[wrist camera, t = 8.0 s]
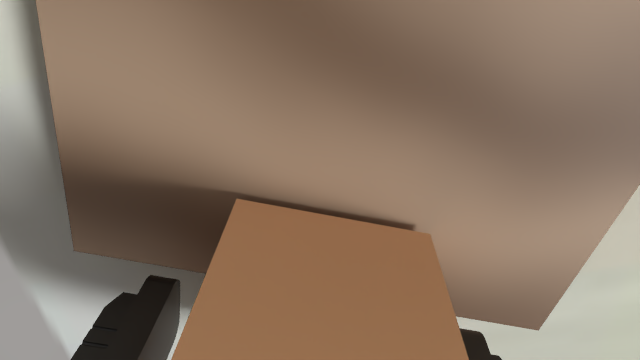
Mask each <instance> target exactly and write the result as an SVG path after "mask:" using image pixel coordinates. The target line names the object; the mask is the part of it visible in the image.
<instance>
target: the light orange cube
mask: <svg viewBox="0 0 640 360" xmlns="http://www.w3.org/2000/svg"><path fill="white" fill-rule="evenodd" d="M171 360H469V358H468V355H467V352H466V349H465V345H464V342H463V339H462V336H461V332H460V329H459V326H458V323H457V319H456V316H455V313H454V309H453V306H452V303H451V300H450V296H449V293H448V290H447V287H446V283H445V280H444V277H443V274H442V270H441V267H440V264H439V261H438V257H437V254H436V251H435V248H434V244H433V241H432V238H431V235H430V234H428V233H422V232H417V231H411V230H406V229H400V228H395V227H390V226H384V225H379V224H373V223H368V222H362V221H357V220H351V219H346V218H340V217H335V216H329V215H324V214H318V213H313V212H307V211H302V210H296V209H291V208H285V207H280V206H274V205H269V204H264V203H258V202H253V201H247V200H242V199H236V201H235V204H234V206H233V209H232V211H231V214H230V216H229V219H228V221H227V224H226V226H225V228H224V231H223V233H222V236H221V238H220V241H219V243H218V246H217V248H216V251H215V253H214V256H213V258H212V261H211V263H210V265H209V268H208V270H207V273H206V275H205V278H204V280H203V283H202V285H201V288H200V290H199V293H198V295H197V298H196V300H195V302H194V305H193V307H192V310H191V312H190V315H189V317H188V320H187V322H186V325H185V327H184V330H183V332H182V335H181V337H180V339H179V342H178V344H177V347H176V349H175V352H174V354H173V357H172V359H171Z"/></svg>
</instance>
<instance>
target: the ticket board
mask: <svg viewBox="0 0 640 360" xmlns="http://www.w3.org/2000/svg"><path fill="white" fill-rule="evenodd" d="M36 6H37V12H38V19H39V26H40V32H41V39H42V45H43V52H44V58H45V65H46V71H47V78H48V84H49V91H50V97H51V104H52V110H53V117H54V123H55V130H56V136H57V143H58V149H59V156H60V162H61V169H62V175H63V182H64V189H65V195H66V202H67V208H68V215H69V221H70V228H71V234H72V241H73V247H74V251H78V252H84V253H90V254H95V255H101V256H107V257H113V258H119V259H125V260H130V261H136V262H142V263H148V264H154V265H160V266H166V267H171V268H177V269H183V270H189V271H195V272H201V273H207V270H208V268H209V265H210V263H211V261H212V258H213V256H214V253H215V251H216V248H217V246H218V243H219V241H220V238H221V236H222V233H223V231H224V228H225V226H226V224H227V221H228V219H229V216H230V214H231V211H232V209H233V206H234V204H235V201H236V199H242V200H247V201H253V202H258V203H264V204H269V205H274V206H280V207H285V208H291V209H296V210H302V211H307V212H313V213H318V214H324V215H329V216H335V217H340V218H346V219H351V220H357V221H362V222H368V223H373V224H379V225H384V226H390V227H395V228H400V229H406V230H411V231H417V232H422V233H428V234H430V235H431V238H432V241H433V244H434V248H435V251H436V254H437V257H438V261H439V264H440V267H441V270H442V274H443V277H444V280H445V283H446V287H447V290H448V293H449V296H450V300H451V303H452V306H453V309H454V313H455V316H458V317H464V318H469V319H475V320H481V321H487V322H493V323H499V324H504V325H510V326H516V327H522V328H528V329H534V330H539V329H540V327H541V326H542V324H543V323H544V322H545V320H546V319H547V317H548V316H549V314H550V313H551V311H552V310H553V309H554V307H555V306H556V304H557V303H558V301H559V300H560V299H561V297H562V296H563V294H564V293H565V291H566V290H567V288H568V287H569V286H570V284H571V283H572V281H573V280H574V278H575V277H576V275H577V274H578V273H579V271H580V270H581V268H582V267H583V265H584V264H585V263H586V261H587V260H588V258H589V257H590V255H591V254H592V252H593V251H594V250H595V248H596V247H597V245H598V244H599V242H600V241H601V240H602V238H603V237H604V235H605V234H606V232H607V231H608V229H609V228H610V227H611V225H612V224H613V222H614V221H615V219H616V218H617V216H618V215H619V214H620V212H621V211H622V209H623V208H624V206H625V205H626V204H627V202H628V201H629V199H630V198H631V196H632V195H633V193H634V192H635V191H636V189H637V188H638V186H639V185H640V0H36Z"/></svg>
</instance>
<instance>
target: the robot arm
mask: <svg viewBox="0 0 640 360" xmlns="http://www.w3.org/2000/svg"><path fill="white" fill-rule="evenodd" d="M179 317H180V281H179V280H177V279H171V278H165V277H159V276H153V275H150V276H149V277H148V278H147V279H146V281H145V282H144V284H143V286H142V288H141V289H140V291H139V293H138V295H136V294H130V293H124V292H123V293H122V294H121V295H119V296H118V297H117V298H116V299H114V300H113V301H112V302H110V303H109V304H108V305H107V306H105V307H104V309H103V310H102V312H101V314H100V315H99V317H98V318H97V320H96V321H95V323H94V324H93V328H92V329H90V331H89V332H88V334H87V335H86V337H85V338H84V340H83V343H82V345H80V346H79V348H78V349H77V351H76V352H75V354H74V355H73V357H72V358H71V360H166V359H167V357H168V355H169V352H170V350H171V347H172V345H173V343H174V340H175V337H176V334H177V330H178V325H179ZM459 329H460V328H459ZM460 332H461V336H462V339H463V342H464V345H465V349H466V352H467V355H468V358H469V360H502V359H501V358H500V357H499V356H496V355H491V354H490V351H489V349H488V346H487V343H486V340H485V338H484V336H483V334H482V333H480V332H478V331H472V330H466V329H460Z"/></svg>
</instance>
